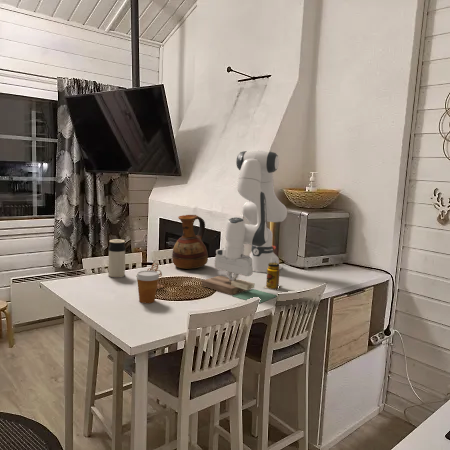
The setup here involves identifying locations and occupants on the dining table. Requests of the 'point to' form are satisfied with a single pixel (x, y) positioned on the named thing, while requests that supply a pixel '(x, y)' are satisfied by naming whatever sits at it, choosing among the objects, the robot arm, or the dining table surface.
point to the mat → (255, 295)
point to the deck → (221, 285)
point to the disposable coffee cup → (147, 285)
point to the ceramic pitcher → (190, 245)
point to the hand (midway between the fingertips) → (232, 281)
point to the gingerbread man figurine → (156, 271)
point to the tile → (242, 284)
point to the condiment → (273, 276)
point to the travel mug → (116, 258)
